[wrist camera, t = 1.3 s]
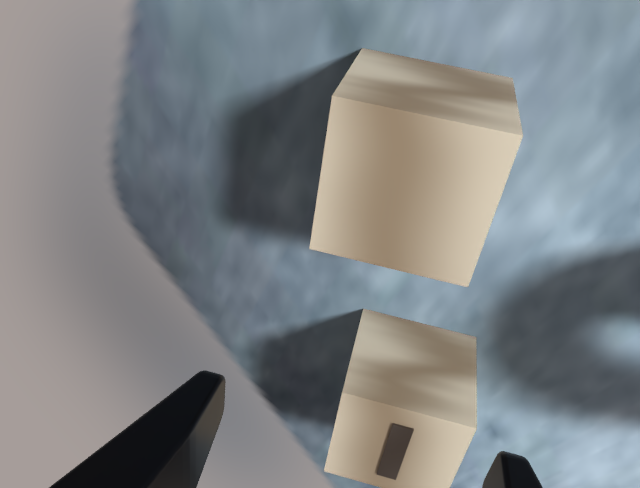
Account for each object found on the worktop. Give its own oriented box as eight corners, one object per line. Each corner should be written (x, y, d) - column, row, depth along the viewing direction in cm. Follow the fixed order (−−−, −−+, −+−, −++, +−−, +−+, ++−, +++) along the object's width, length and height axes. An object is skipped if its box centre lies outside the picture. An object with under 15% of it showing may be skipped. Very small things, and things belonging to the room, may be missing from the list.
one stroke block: (476, 335, 24) (476, 430, 20) (446, 410, 27) (441, 507, 23) (363, 307, 25) (341, 394, 21) (345, 383, 28) (323, 473, 24)
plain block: (512, 77, 18) (522, 136, 14) (469, 207, 21) (468, 287, 17) (362, 47, 19) (332, 95, 15) (340, 178, 22) (309, 248, 18)
